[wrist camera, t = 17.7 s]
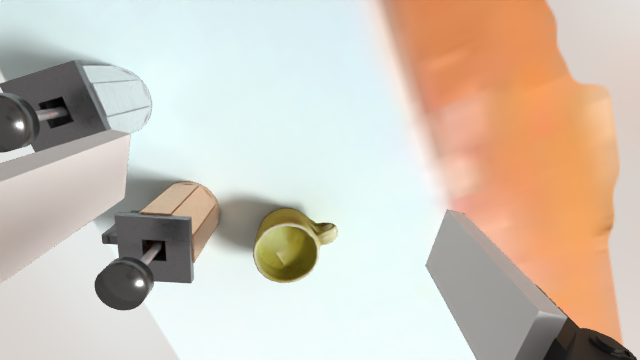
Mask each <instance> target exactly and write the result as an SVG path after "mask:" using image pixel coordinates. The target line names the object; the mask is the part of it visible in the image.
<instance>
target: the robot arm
mask: <svg viewBox="0 0 640 360" xmlns="http://www.w3.org/2000/svg"><path fill="white" fill-rule="evenodd" d="M130 137H131V134H129V133H125V132H121V131H117V130H112V129H110V130H106V131H103V132H100V133H97V134H93V135H90V136H87V137H84V138H81V139H77V140H74V141H71V142H68V143H64V144H61V145H58V146H55V147H51V148H48V149H45V150H42V151H39V152H35V153H32V154H29V155H26V156H23V157H19V158H16V159H13V160H9V161H6V162H3V163H0V284H1V283H2V282H4V281H5V280H7V279H8V278H10V277H11V276H12V275H14V274H15V273H17V272H18V271H20V270H21V269H23V268H24V267H26V266H27V265H29V264H30V263H31V262H33V261H34V260H36V259H37V258H39V257H40V256H42V255H43V254H44V253H46V252H47V251H49V250H50V249H52V248H53V247H55V246H56V245H57V244H59V243H60V242H62V241H63V240H65V239H66V238H68V237H69V236H70V235H72V234H73V233H75V232H76V231H78V230H79V229H80V228H82V227H83V226H85V225H86V224H88V223H89V222H91V221H92V220H94V219H95V218H97V217H98V216H99V215H101V214H102V213H104V212H105V211H107V210H108V209H110V208H111V207H112V206H114V205H115V204H117V203H118V202H120V201H121V200H123V199H124V197H125V187H126V177H127V167H128V157H129V147H130ZM425 266H426V268H427V269H428V271H429V273H430V275H431V277H432V279H433V280H434V282H435V284H436V286H437V288H438V290H439V291H440V293H441V295H442V297H443V299H444V301H445V302H446V304H447V306H448V308H449V310H450V312H451V314H452V315H453V317H454V319H455V321H456V323H457V325H458V326H459V328H460V330H461V332H462V334H463V336H464V337H465V339H466V341H467V343H468V345H469V347H470V348H471V350H472V352H473V354H474V356H475V358H476V359H477V360H637V359H636V357H635V356H634V355H633V354H632V353H631V352H630V351H629V350H627V349H626V348H625V347H623V346H622V345H621V344H619V343H618V342H617V341H615V340H614V339H612V338H611V337H609V336H606V335H604V334H601V333H599V332H597V331H594V330H590V329H587V328H579V327H578V326H577V325H576V324H575V323H574V322H573V321H572V320H571V319H570V318H569V317H568V316H567V315H566V314H565V313H564V312H563V311H562V310H561V309H560V308H559V307H557V306H556V304H555V303H554V302H553V301H552V300H551V299H550V298H548V296H547V295H546V294H545V293H544V292H543V291H542V290H541V289H540V288H539V287H538V286H537V285H535V284H534V283H533V282H532V281H531V280H530V279H529V278H528V277H527V276H526V275H525V274H524V273H523V272H522V271H521V270H520V269H519V268H518V267H517V266H516V265H515V264H514V263H513V262H512V261H511V260H510V259H509V258H508V257H507V256H506V255H505V254H504V253H503V252H502V251H501V250H500V249H499V248H498V247H497V246H496V245H495V244H494V243H493V242H492V241H491V240H490V239H489V238H488V237H487V236H486V235H485V234H484V233H483V232H482V231H481V230H480V229H479V228H478V227H477V226H476V225H475V224H474V223H473V222H472V221H471V220H470V219H469V218H468V217H467V216H466V215H465V214H464V213H460V212H456V211H452V210H448V209H447V211H446V213H445V216H444V219H443V221H442V224H441V226H440V229H439V232H438V234H437V237H436V239H435V242H434V245H433V247H432V250H431V252H430V255H429V258H428V260H427V263H426V265H425Z"/></svg>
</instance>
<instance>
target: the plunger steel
mask: <svg viewBox="0 0 640 360" xmlns="http://www.w3.org/2000/svg"><path fill="white" fill-rule="evenodd" d="M67 115H71V114H70V112H69V110H68V108H67V106H64V107H58V108H52V109H45V110H39V111H35V110H34V109H33V107H32V106H31V105H30V104H29V103H28V102H27V101H26V100H24V99H23V98H21V97H19V96H17V95H14V94H11V93H0V152H8V151H11V150H15V149H19V148H22V147H26V146H28V145H30V144H32V143H33V142H34V141H35V140H36V138H37V137H38V134H39V130H40V123H39V121H42V120H47V119H52V118H57V117H62V116H67Z"/></svg>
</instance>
